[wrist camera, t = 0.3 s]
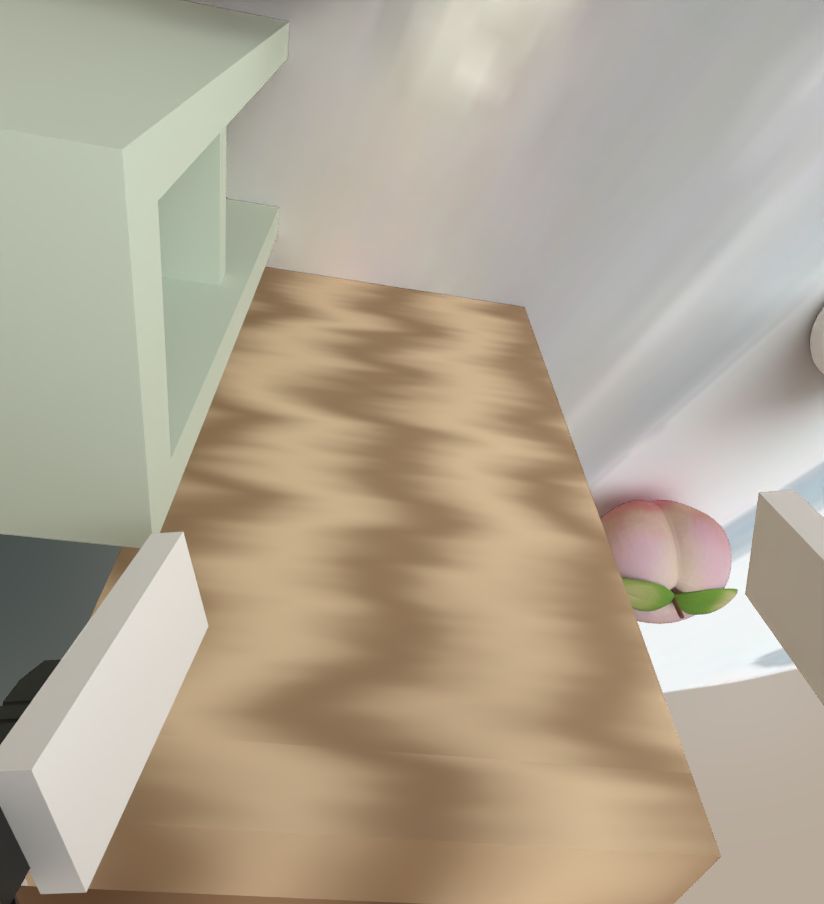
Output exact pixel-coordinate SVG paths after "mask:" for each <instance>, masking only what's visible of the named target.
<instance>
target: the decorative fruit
mask: <svg viewBox="0 0 824 904" xmlns="http://www.w3.org/2000/svg"><path fill="white" fill-rule="evenodd" d="M601 522H602V525H603V528H604V531H605V533H606V536H607V539H608V542H609V545H610V547H611V550H612V553H613V556H614V559H615V561H616V564H617V567H618V570H619V573H620V575H621V578H622V581H623V584H624V586H625V589H626V592H627V595H628V598H629V600H630V603H631V606H632V609H633V612H634V614H635V617H636V620H637V621H640V622H646V623H658V624H662V623H672V622H677V621H681V620H685V619H687V618H690V617H692V616H694V615H698V614H708V613H711V612H714V611H716V610H718V609H720V608H722V607H723V606H725V605H726V604H727V603H729V602H730V601H731V600H732V599H733V598H734V596H735V595H736V594H737V591H738V590H737V589H724V588H725V586H726V584H727V581H728V579H729V575H730V571H731V548H730V543H729V540H728V538H727V535H726V533H725V531H724V530H723V528H722V527H721V526H720V525H719V524H718V523H717V522H716V521H715V520H714V519H713V518H711V517H710V516H708V515H706V514H705V513H703V512H701V511H699V510H697V509H694V508H692V507H689V506H687V505H684V504H681V503H678V502H674V501H668V500H656V501H652V502H648V501H644V500H634V501H630V502H627V503H624V504H622V505H620V506H618V507H616V508H614V509H612V510H611V511H609V512H608V513H607V514H605V515H604V516H603V517H602V518H601Z"/></svg>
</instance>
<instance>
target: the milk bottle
mask: <svg viewBox="0 0 824 904" xmlns="http://www.w3.org/2000/svg"><path fill="white" fill-rule="evenodd" d="M810 349H811V355H812V359H813V361H814V363H815V365H816V366H817V368H818V369H819V370H820V371H821V372H822V373H823V374H824V307H823V309H822V310H821V311H820V313H819V314H818V316H817V319H816V321H815V323H814V325H813V328H812V332H811V336H810Z"/></svg>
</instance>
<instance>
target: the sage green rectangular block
mask: <svg viewBox="0 0 824 904" xmlns="http://www.w3.org/2000/svg"><path fill="white" fill-rule="evenodd" d="M289 24H290V22H288V21H283V20H278V19H273V18H268V17H263V16H258V15H253V14H248V13H243V12H238V11H233V10H228V9H223V8H218V7H213V6H208V5H203V4H198V3H193V2H188V1H183V0H0V534H7V535H16V536H26V537H36V538H45V539H55V540H65V541H75V542H85V543H94V544H104V545H113V546H123V547H133V548H142V546H143V545H144V543H145V542H146V541H147V539H148V538H149V536H150V535H151V534H154V533H160V531H161V529H162V526H163V524H164V521H165V519H166V516H167V514H168V511H169V508H170V506H171V503H172V501H173V498H174V496H175V493H176V491H177V488H178V486H179V483H180V481H181V478H182V476H183V473H184V471H185V468H186V466H187V463H188V460H189V458H190V455H191V453H192V450H193V448H194V445H195V443H196V440H197V438H198V435H199V433H200V430H201V428H202V425H203V423H204V420H205V418H206V415H207V413H208V410H209V407H210V405H211V402H212V400H213V397H214V395H215V392H216V390H217V387H218V385H219V382H220V380H221V377H222V375H223V372H224V370H225V367H226V365H227V362H228V360H229V357H230V354H231V352H232V349H233V347H234V344H235V342H236V339H237V337H238V334H239V332H240V329H241V327H242V324H243V322H244V319H245V317H246V314H247V312H248V309H249V307H250V304H251V301H252V299H253V296H254V294H255V291H256V289H257V286H258V284H259V281H260V279H261V276H262V274H263V271H264V269H265V266H266V264H267V261H268V259H269V256H270V254H271V251H272V248H273V246H274V243H275V241H276V238H277V236H278V224H279V207H275V206H269V205H262V204H256V203H250V202H244V201H238V200H232V199H226V128H227V125H228V123H229V122H230V121H231V120H232V119H233V118H234V117H235V116H236V115H237V114H238V113H239V111H240V110H241V109H242V108H243V107H244V106H245V105H246V104H247V103H248V102H249V100H250V99H251V98H252V97H253V96H254V95H255V94H256V93H257V92H258V91H259V90H260V88H261V87H262V86H263V85H264V84H265V83H266V82H267V81H268V80H269V79H270V77H271V76H272V75H273V74H274V73H275V72H276V71H277V70H278V69H279V68H280V66H281V65H282V64H283V63H284V62H285V61H286V60H287V59H288V42H289Z"/></svg>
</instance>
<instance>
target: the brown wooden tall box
mask: <svg viewBox="0 0 824 904" xmlns="http://www.w3.org/2000/svg"><path fill="white" fill-rule="evenodd" d="M169 532H184V536H185V540H186V543H187V547H188V551H189V555H190V558H191V562H192V566H193V570H194V573H195V577H196V581H197V585H198V588H199V592H200V596H201V600H202V604H203V607H204V611H205V615H206V619H207V622H208V628H207V631H206V633H205V635H204V637H203V639H202V642H201V644H200V646H199V648H198V650H197V652H196V655H195V657H194V659H193V661H192V663H191V665H190V668H189V670H188V672H187V674H186V676H185V679H184V681H183V683H182V685H181V687H180V689H179V692H178V694H177V696H176V698H175V700H174V703H173V705H172V707H171V709H170V711H169V713H168V716H167V718H166V720H165V722H164V724H163V727H162V729H161V731H160V733H159V735H158V737H157V740H156V742H155V744H154V746H153V748H152V750H151V753H150V755H149V757H148V759H147V761H146V764H145V766H144V768H143V770H142V772H141V774H140V777H139V779H138V781H137V783H136V785H135V788H134V790H133V792H132V794H131V796H130V798H129V801H128V803H127V805H126V807H125V809H124V812H123V814H122V816H121V818H120V820H119V822H118V825H117V827H116V829H115V831H114V833H113V836H112V838H111V840H110V842H109V844H108V846H107V849H106V851H105V853H104V855H103V857H102V859H101V862H100V864H99V866H98V868H97V870H96V873H95V875H94V877H93V879H92V881H91V883H90V886H89V888H88V889H103V890H126V891H148V892H171V893H193V894H215V895H238V896H260V897H283V898H305V899H328V900H350V901H373V902H395V903H417V904H674V903H675V902H676V901H677V900H678V899H679V898H680V897H681V896H682V895H683V894H684V893H685V892H686V891H687V890H688V889H689V888H690V887H691V886H692V885H693V884H694V883H695V882H696V881H697V880H698V879H699V878H700V877H701V876H702V875H703V874H704V873H705V872H706V871H707V870H708V869H709V868H710V867H711V866H712V865H713V864H714V863H715V862H716V861H717V860H718V859H719V858H720V857H721V855H720V852H719V849H718V846H717V844H716V841H715V838H714V835H713V832H712V829H711V827H710V824H709V821H708V818H707V816H706V813H705V810H704V807H703V804H702V802H701V799H700V796H699V793H698V790H697V788H696V785H695V782H694V779H693V777H692V774H691V771H690V768H689V765H688V762H687V760H686V757H685V754H684V751H683V749H682V746H681V743H680V740H679V737H678V735H677V732H676V729H675V726H674V723H673V721H672V718H671V715H670V712H669V710H668V707H667V704H666V701H665V698H664V696H663V693H662V690H661V687H660V684H659V681H658V679H657V676H656V673H655V670H654V667H653V665H652V662H651V659H650V656H649V654H648V651H647V648H646V645H645V642H644V640H643V637H642V634H641V631H640V628H639V626H638V623H637V620H636V617H635V614H634V612H633V609H632V606H631V603H630V600H629V598H628V595H627V592H626V589H625V586H624V584H623V581H622V578H621V575H620V573H619V570H618V567H617V564H616V561H615V559H614V556H613V553H612V550H611V547H610V545H609V542H608V539H607V536H606V533H605V531H604V528H603V525H602V522H601V519H600V517H599V514H598V511H597V508H596V506H595V503H594V500H593V497H592V494H591V492H590V489H589V486H588V483H587V480H586V478H585V475H584V472H583V469H582V466H581V464H580V461H579V458H578V455H577V452H576V450H575V447H574V444H573V441H572V438H571V436H570V433H569V430H568V427H567V425H566V422H565V419H564V416H563V413H562V411H561V408H560V405H559V402H558V399H557V397H556V394H555V391H554V388H553V385H552V383H551V380H550V377H549V374H548V371H547V369H546V366H545V363H544V360H543V357H542V355H541V352H540V349H539V346H538V344H537V341H536V338H535V335H534V332H533V330H532V327H531V324H530V321H529V318H528V316H527V313H526V310H525V307H520V306H514V305H508V304H501V303H495V302H488V301H482V300H475V299H469V298H462V297H456V296H449V295H443V294H436V293H430V292H423V291H417V290H411V289H404V288H398V287H391V286H385V285H378V284H372V283H365V282H359V281H352V280H346V279H339V278H333V277H326V276H320V275H314V274H307V273H301V272H294V271H288V270H281V269H275V268H268V267H265V269H264V271H263V274H262V276H261V279H260V281H259V284H258V286H257V289H256V291H255V294H254V296H253V299H252V301H251V304H250V307H249V309H248V312H247V314H246V317H245V319H244V322H243V324H242V327H241V329H240V332H239V334H238V337H237V339H236V342H235V344H234V347H233V349H232V352H231V354H230V357H229V360H228V362H227V365H226V367H225V370H224V372H223V375H222V377H221V380H220V382H219V385H218V387H217V390H216V392H215V395H214V397H213V400H212V402H211V405H210V407H209V410H208V413H207V415H206V418H205V420H204V423H203V425H202V428H201V430H200V433H199V435H198V438H197V440H196V443H195V445H194V448H193V450H192V453H191V455H190V458H189V460H188V463H187V466H186V468H185V471H184V473H183V476H182V478H181V481H180V483H179V486H178V488H177V491H176V493H175V496H174V498H173V501H172V503H171V506H170V508H169V511H168V514H167V516H166V519H165V521H164V524H163V526H162V529H161V531H160V533H169ZM140 549H141V548H133V547H123V546H122V548H121V551H120V553H119V556H118V558H117V560H116V562H115V564H114V566H113V569H112V571H111V573H110V575H109V577H108V580H107V582H106V584H105V587H104V588H103V591H102V593H101V595H100V597H99V600H98V602H97V604H96V606H95V609H94V611H93V613H92V615H91V617H92V616H93V615H94V613H95V612H96V610H97V609H98V608H99V606H100V605H101V604H102V602H103V601H104V599H105V598H106V597H107V595H108V594H109V592H110V591H111V590H112V588H113V587H114V585H115V584H116V583H117V581H118V580H119V578H120V577H121V576H122V574H123V573H124V571H125V570H126V569H127V567H128V566H129V564H130V563H131V562H132V560H133V559H134V557H135V556H136V555H137V553H138V552H139V550H140ZM91 617H90V619H91ZM25 878H26V880H27V883H28V885H29V886H36V884H35V882H34V880H33V878H32V876H31V874H30V872H29V871H28V873H27V875H26V877H25ZM36 887H37V886H36Z"/></svg>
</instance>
